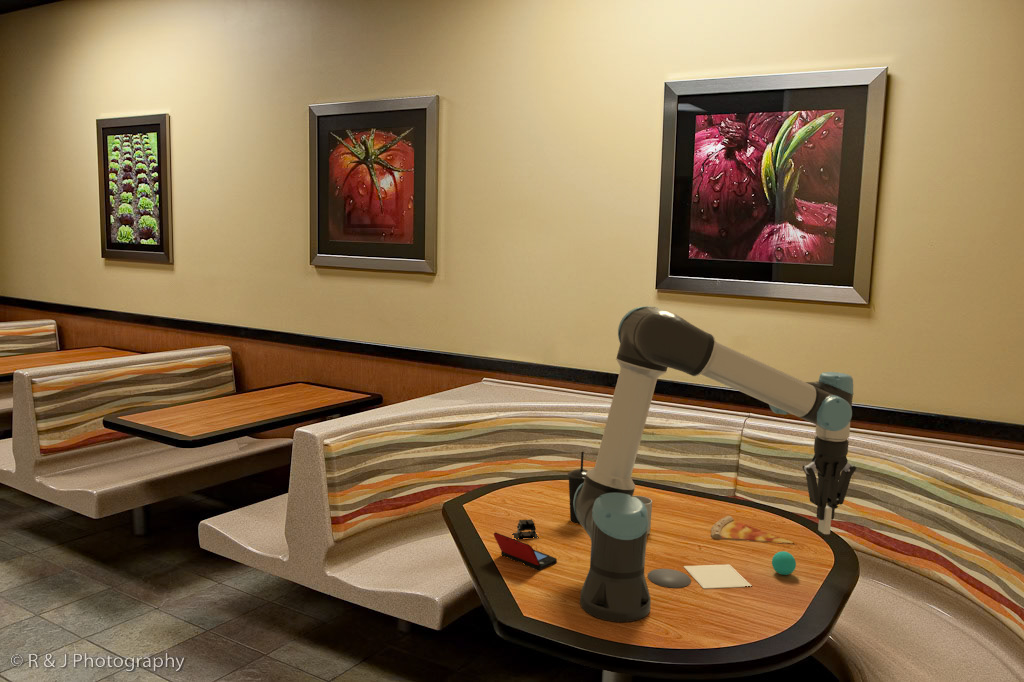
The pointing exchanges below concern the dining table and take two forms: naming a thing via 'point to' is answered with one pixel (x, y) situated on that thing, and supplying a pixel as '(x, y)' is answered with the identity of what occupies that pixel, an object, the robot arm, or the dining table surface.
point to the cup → (649, 509)
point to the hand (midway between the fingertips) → (823, 531)
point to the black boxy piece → (525, 526)
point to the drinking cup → (575, 486)
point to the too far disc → (669, 578)
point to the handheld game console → (523, 553)
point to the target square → (717, 576)
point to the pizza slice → (741, 532)
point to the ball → (783, 563)
